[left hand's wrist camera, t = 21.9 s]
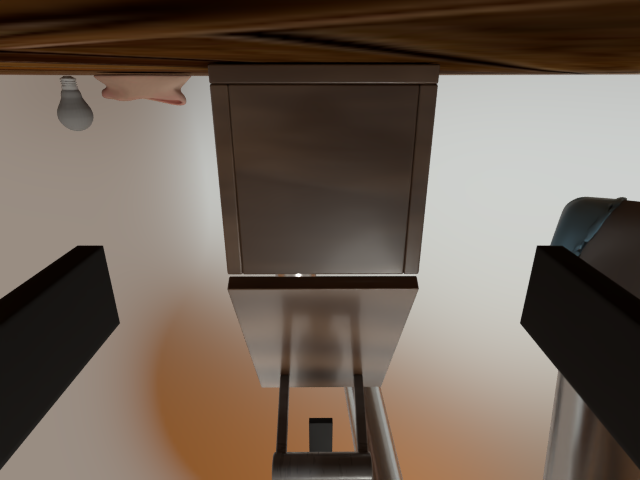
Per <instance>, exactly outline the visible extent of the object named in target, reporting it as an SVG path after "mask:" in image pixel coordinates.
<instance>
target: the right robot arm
mask: <svg viewBox="0 0 640 480" xmlns="http://www.w3.org/2000/svg"><path fill="white" fill-rule="evenodd" d="M293 276H316V274H276V277H293ZM344 390H345V396H346V402H347V408H348V414H349V420H350V426H351V432H352V438H353V444H354V450H355V452H357V437H356V419H355V401H354V387H344ZM364 401H365V415H366V429H367V443H368V452H370V454H371V458H372V470H373V479H372V480H403V478H402V474H401V470H400V466H399V462H398V458H397V454H396V449H395V445H394V441H393V437H392V433H391V429H390V425H389V421H388V417H387V413H386V408H385V404H384V400H383V396H382V392H381V388H380V387H364ZM332 424H333V423H332V418H309V448H310V452H332Z"/></svg>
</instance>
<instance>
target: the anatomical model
mask: <svg viewBox="0 0 640 480" xmlns="http://www.w3.org/2000/svg"><path fill="white" fill-rule="evenodd" d="M94 77H95V78H96V79H97V80H99V81H101V82H102V83H104V84H105V85H106V88H105V89H103V90H102V96H103V97H104V98H108V99H115V100H119V101H130V100H136V99H149V100H154V101H159V102H163V103H168V104H173V105H184V104H186V98H185V96H184V95H183V94H182V93H181V87H182V86H183V85H184V84H185V83H186V82H187V80H188V79H189V78H190V77H191V75H141V74H110V75H94Z"/></svg>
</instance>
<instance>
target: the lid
mask: <svg viewBox="0 0 640 480" xmlns="http://www.w3.org/2000/svg"><path fill="white" fill-rule="evenodd" d="M418 289H419V288H418V282H417V277H416V276H293V277H229V283H228V292H229V295H230V298H231V300H232V303H233V306H234V309H235V312H236V315H237V318H238V321H239V324H240V326H241V329H242V332H243V335H244V338H245V341H246V344H247V347H248V349H249V352H250V355H251V358H252V361H253V364H254V367H255V370H256V372H257V375H258V378H259V381H260V384H261V387H280V390H279V408H278V426H277V444H276V452H275V453H274V455H273V462H272V480H372V479H373V470H372V458H371V454H370V452H368V443H367V429H366V415H365V401H364V387H381V385H382V382H383V380H384V377H385V374H386V372H387V369H388V367H389V364H390V361H391V359H392V356H393V354H394V351H395V349H396V346H397V343H398V341H399V338H400V336H401V333H402V330H403V328H404V325H405V323H406V320H407V318H408V315H409V312H410V310H411V307H412V305H413V302H414V299H415V297H416V294H417V292H418ZM289 387H354V401H355V419H356V437H357V452H287V432H288V406H289Z"/></svg>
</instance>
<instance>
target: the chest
mask: <svg viewBox="0 0 640 480" xmlns="http://www.w3.org/2000/svg"><path fill="white" fill-rule="evenodd" d="M439 69H440V65H439V64H208V72H209V82H210V83H211V84H210V92H211V102H212V113H213V124H214V134H215V144H216V155H217V165H218V176H219V187H220V197H221V207H222V218H223V229H224V239H225V250H226V261H227V271H228V274H242V273H243V274H402V273H404V274H418V272H419V262H420V252H421V243H422V233H423V223H424V214H425V204H426V194H427V184H428V175H429V165H430V155H431V146H432V136H433V126H434V117H435V107H436V97H437V87H438V86H437V83H438V78H439Z"/></svg>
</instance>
